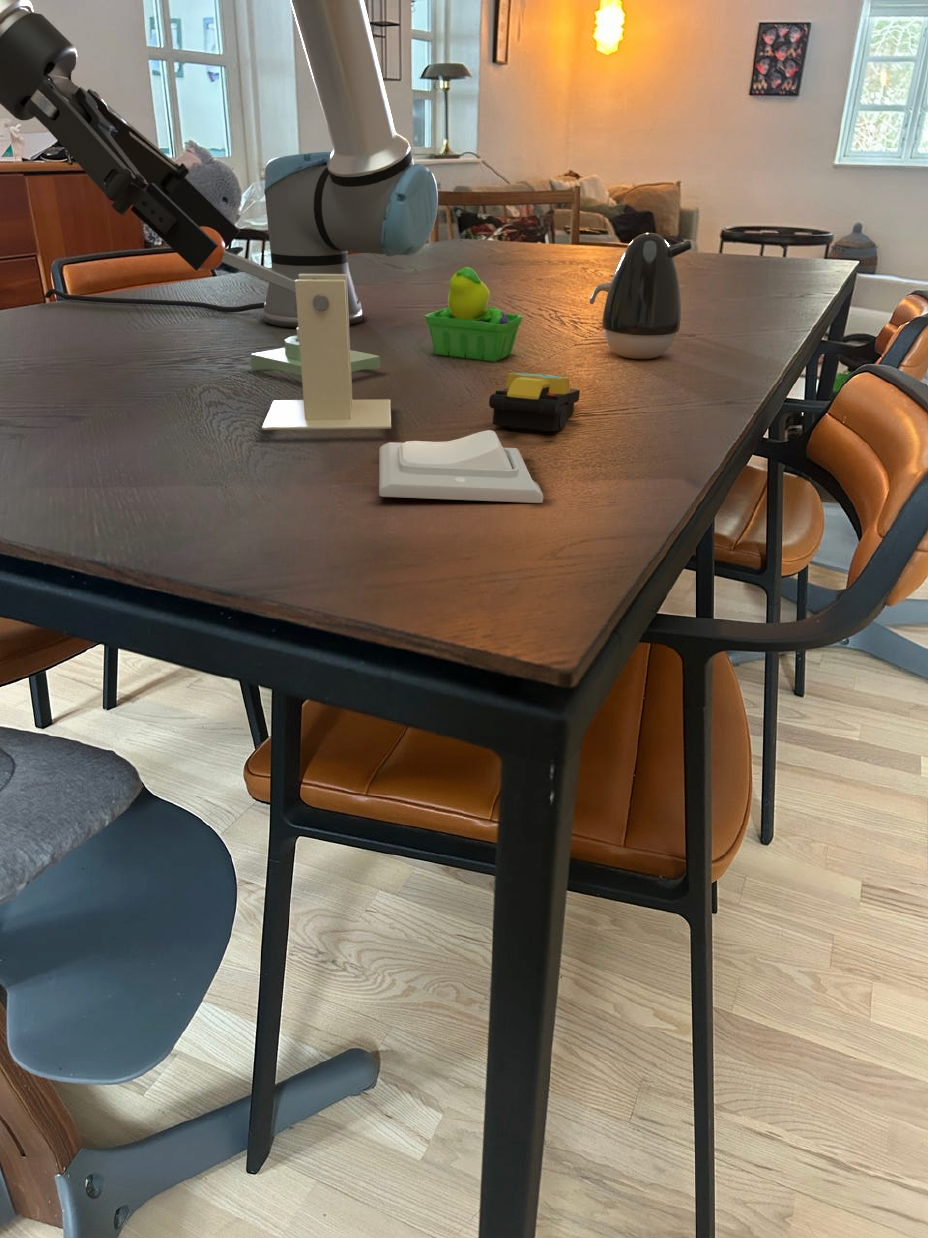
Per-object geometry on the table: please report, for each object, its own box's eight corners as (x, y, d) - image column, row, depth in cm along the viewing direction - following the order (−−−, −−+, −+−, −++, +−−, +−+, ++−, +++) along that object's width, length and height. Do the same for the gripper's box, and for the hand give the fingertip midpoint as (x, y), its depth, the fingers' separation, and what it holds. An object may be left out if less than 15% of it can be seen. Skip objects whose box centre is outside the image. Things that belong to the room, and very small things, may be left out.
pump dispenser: (678, 365, 113) (694, 237, 106) (597, 360, 115) (607, 234, 108) (677, 349, 122) (692, 230, 115) (602, 345, 124) (612, 228, 117)
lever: (175, 262, 77) (186, 220, 76) (183, 257, 80) (194, 217, 79) (329, 325, 81) (342, 287, 79) (331, 319, 84) (344, 282, 83)
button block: (252, 372, 107) (248, 338, 105) (314, 359, 113) (312, 327, 112) (318, 388, 100) (315, 352, 98) (380, 374, 107) (379, 340, 105)
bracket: (262, 440, 82) (247, 284, 76) (274, 412, 91) (261, 269, 84) (391, 439, 83) (387, 284, 77) (390, 411, 92) (386, 270, 85)
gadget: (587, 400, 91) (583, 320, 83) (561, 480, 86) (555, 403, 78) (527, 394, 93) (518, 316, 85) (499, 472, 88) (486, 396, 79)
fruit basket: (523, 353, 118) (527, 264, 113) (498, 366, 111) (501, 271, 106) (447, 345, 123) (447, 258, 117) (418, 357, 115) (417, 265, 110)
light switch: (548, 460, 67) (380, 453, 66) (542, 511, 69) (378, 505, 68) (527, 421, 77) (380, 414, 75) (522, 467, 79) (378, 460, 77)
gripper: (33, 92, 82) (216, 264, 91) (-91, 73, 61) (165, 302, 69) (80, 25, 80) (263, 207, 89) (-30, -19, 59) (226, 229, 67)
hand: (220, 249), depth 79 cm, fingers open, 13 cm apart
